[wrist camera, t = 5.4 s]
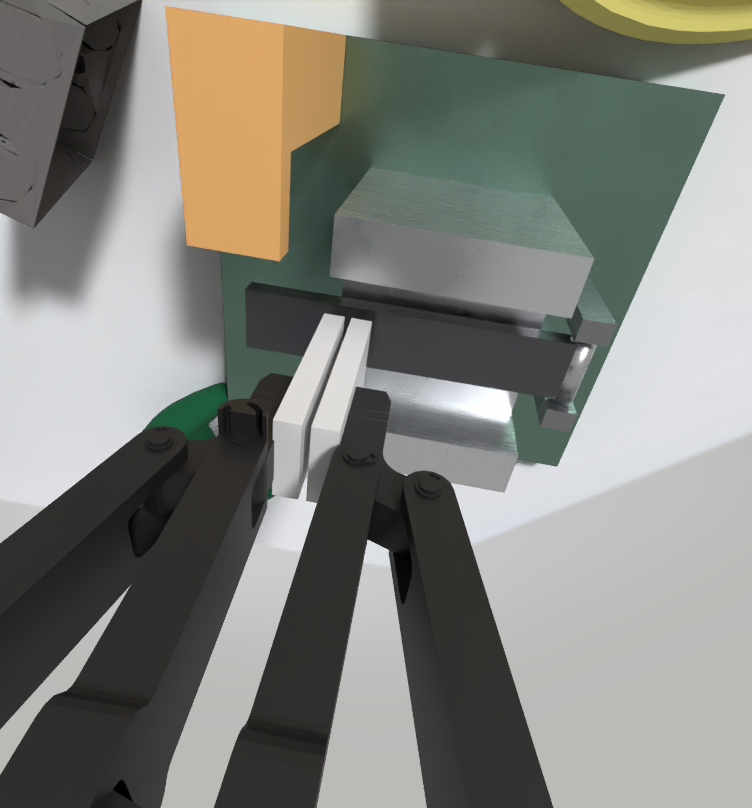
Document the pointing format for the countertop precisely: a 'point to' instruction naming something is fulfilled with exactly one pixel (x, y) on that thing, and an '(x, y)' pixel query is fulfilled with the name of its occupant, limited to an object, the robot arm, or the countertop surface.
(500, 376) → the strap
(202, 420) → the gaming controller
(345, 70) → the green mounting baseplate
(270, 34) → the block
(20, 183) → the electrical switch
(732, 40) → the plastic component
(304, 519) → the countertop surface
